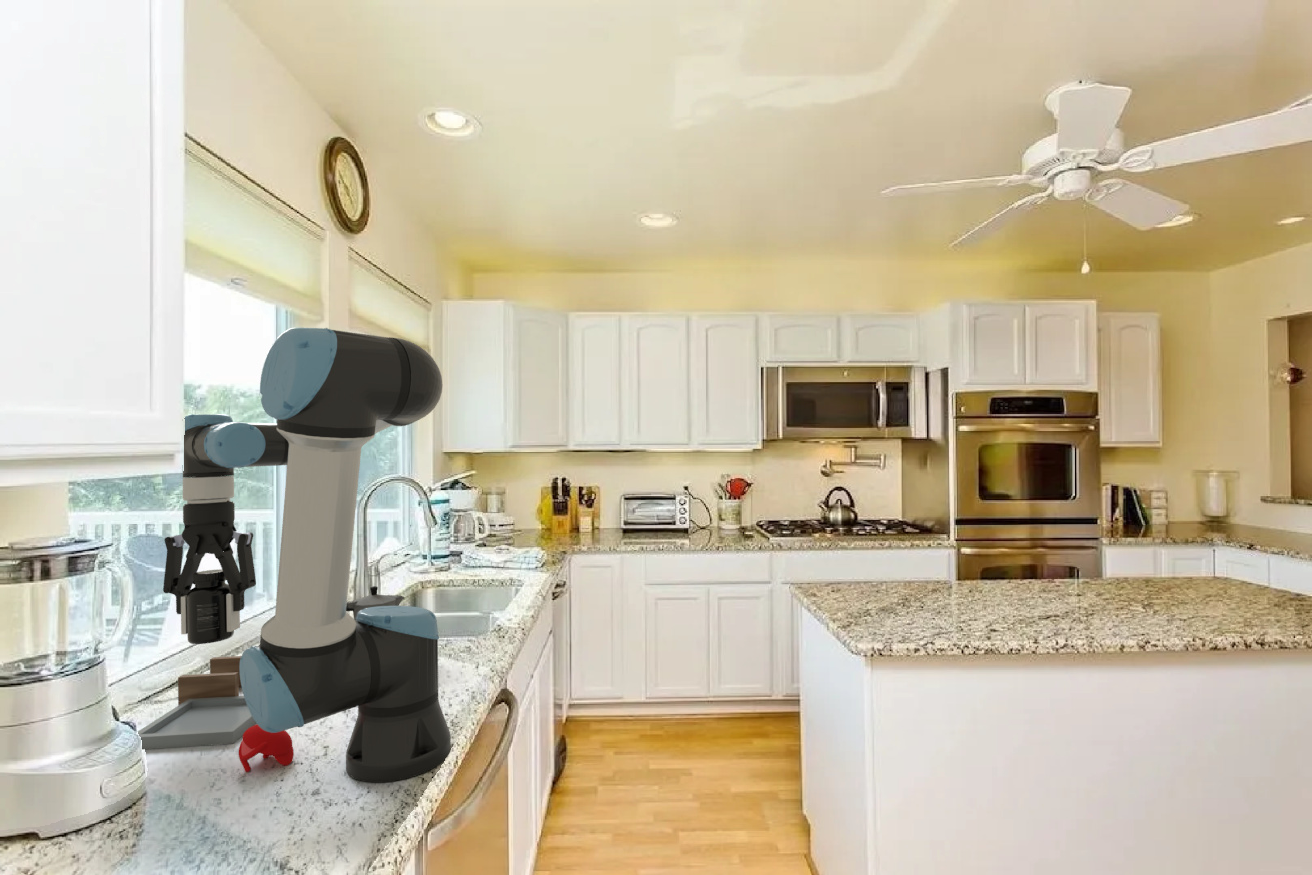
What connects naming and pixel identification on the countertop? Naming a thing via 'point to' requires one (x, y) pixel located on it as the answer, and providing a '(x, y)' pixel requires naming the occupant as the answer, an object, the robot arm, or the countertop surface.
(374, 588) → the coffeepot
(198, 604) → the supplement bottle
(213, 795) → the countertop surface
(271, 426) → the robot arm
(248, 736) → the cap
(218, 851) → the countertop surface
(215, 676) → the brown wooden block
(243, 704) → the tray
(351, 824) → the countertop surface
